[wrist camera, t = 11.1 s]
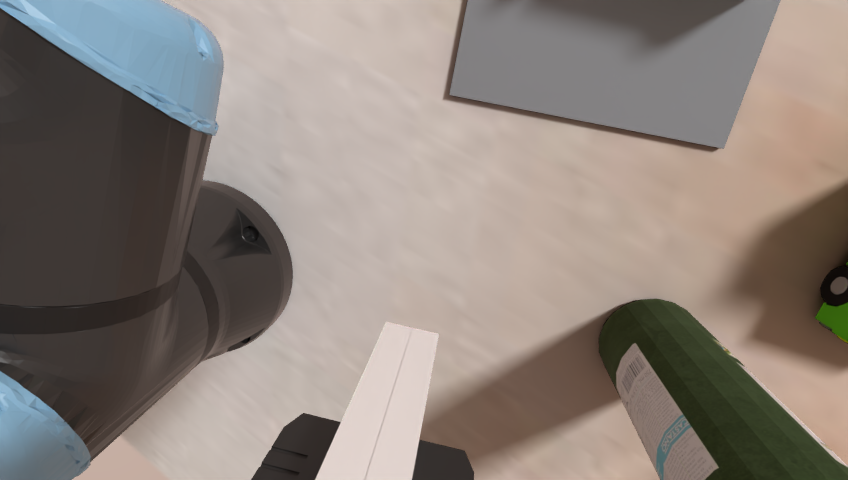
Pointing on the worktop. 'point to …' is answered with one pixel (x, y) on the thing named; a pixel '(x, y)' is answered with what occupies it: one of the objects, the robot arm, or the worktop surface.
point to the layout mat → (616, 61)
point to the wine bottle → (704, 403)
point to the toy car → (835, 303)
